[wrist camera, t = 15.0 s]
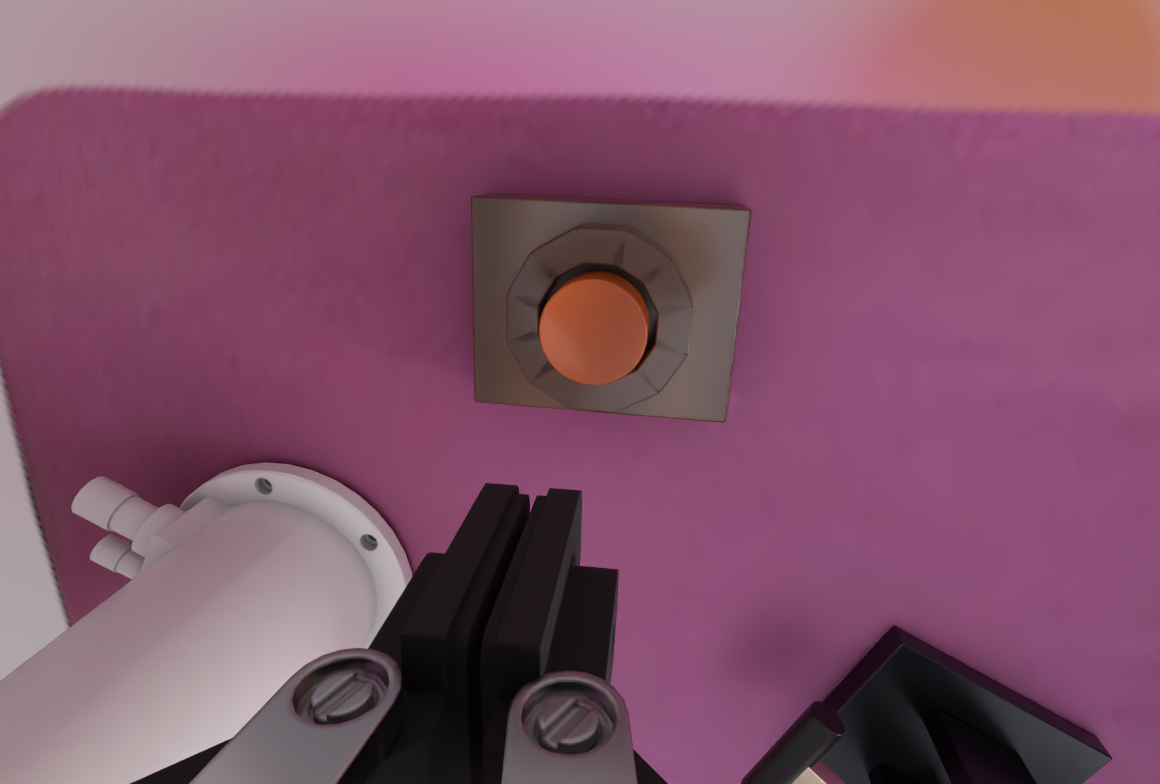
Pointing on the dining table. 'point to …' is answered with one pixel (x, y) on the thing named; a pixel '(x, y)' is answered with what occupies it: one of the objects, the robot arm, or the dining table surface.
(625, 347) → the button
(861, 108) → the dining table surface
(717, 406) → the button block
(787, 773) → the switch lever
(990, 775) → the switch bracket
